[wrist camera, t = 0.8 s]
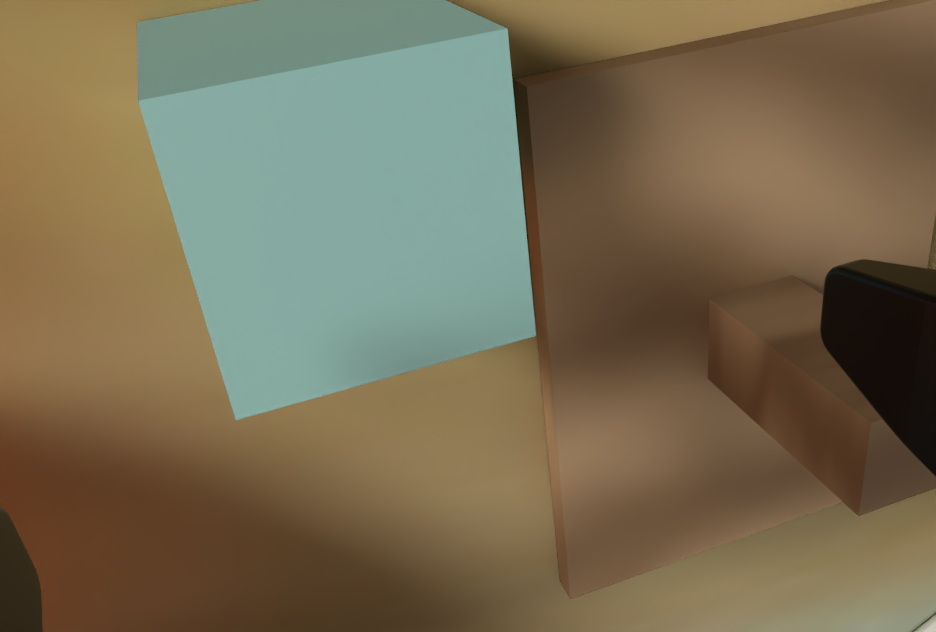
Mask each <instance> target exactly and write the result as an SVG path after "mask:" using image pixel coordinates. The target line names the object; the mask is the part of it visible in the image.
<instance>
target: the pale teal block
mask: <svg viewBox="0 0 936 632" xmlns="http://www.w3.org/2000/svg"><path fill="white" fill-rule="evenodd" d="M137 54H138V103H139V106H140V109H141V112H142V116H143V119H144V122H145V125H146V129H147V132H148V135H149V138H150V142H151V145H152V148H153V151H154V155H155V158H156V161H157V165H158V168H159V171H160V174H161V178H162V181H163V184H164V187H165V191H166V194H167V197H168V200H169V204H170V207H171V210H172V213H173V217H174V220H175V223H176V227H177V230H178V233H179V236H180V240H181V243H182V246H183V249H184V253H185V256H186V259H187V262H188V266H189V269H190V272H191V275H192V279H193V282H194V285H195V289H196V292H197V295H198V298H199V302H200V305H201V308H202V311H203V315H204V318H205V321H206V324H207V328H208V331H209V334H210V337H211V341H212V344H213V347H214V351H215V354H216V357H217V360H218V364H219V367H220V370H221V373H222V377H223V380H224V383H225V386H226V390H227V393H228V396H229V399H230V403H231V406H232V409H233V412H234V416H235V419H236V420H238V419H242V418H246V417H249V416H253V415H256V414H260V413H263V412H267V411H270V410H274V409H278V408H281V407H285V406H288V405H292V404H295V403H299V402H302V401H306V400H310V399H313V398H317V397H320V396H324V395H327V394H331V393H334V392H338V391H342V390H345V389H349V388H352V387H356V386H359V385H363V384H366V383H370V382H374V381H377V380H381V379H384V378H388V377H391V376H395V375H398V374H402V373H406V372H409V371H413V370H416V369H420V368H423V367H427V366H431V365H434V364H438V363H441V362H445V361H448V360H452V359H455V358H459V357H463V356H466V355H470V354H473V353H477V352H480V351H484V350H487V349H491V348H495V347H498V346H502V345H505V344H509V343H512V342H516V341H519V340H523V339H527V338H530V337H534V336H536V330H535V319H534V308H533V297H532V286H531V276H530V265H529V254H528V243H527V233H526V222H525V211H524V200H523V190H522V179H521V168H520V157H519V146H518V136H517V125H516V114H515V103H514V93H513V82H512V71H511V60H510V50H509V39H508V29H507V28H505V27H503V26H501V25H499V24H496V23H494V22H492V21H490V20H488V19H486V18H483V17H481V16H479V15H477V14H475V13H472V12H470V11H468V10H466V9H464V8H461V7H459V6H457V5H455V4H453V3H450V2H448V1H446V0H260V1H255V2H249V3H243V4H237V5H232V6H226V7H220V8H215V9H209V10H203V11H198V12H192V13H186V14H181V15H175V16H169V17H164V18H158V19H152V20H147V21H141V22H137Z"/></svg>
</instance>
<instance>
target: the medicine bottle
mask: <svg viewBox="0 0 936 632" xmlns="http://www.w3.org/2000/svg"><path fill="white" fill-rule="evenodd" d="M914 632H936V614H935V615H934V616H932V617H931V618H930V619H929V620H927V621H926V622H925V623H924V624H922V625H921V626H920V627H919V628H917V629H916V630H915V631H914Z"/></svg>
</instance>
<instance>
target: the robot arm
mask: <svg viewBox="0 0 936 632" xmlns="http://www.w3.org/2000/svg"><path fill="white" fill-rule="evenodd" d="M820 334H821V339H822V342H823V344H824V346H825V348H826V350H827V351H828V353H829V354H830V355H831V356H832V357H833V359H834V360H835V361H836V362H837V364H838V365H839V366H840V367H841V369H842V370H843V371H844V372H845V373H846V375H847V376H848V377H849V378H850V380H851V381H852V382H853V383H854V385H855V386H856V387H857V388H858V389H859V391H860V392H861V393H862V394H863V396H864V397H865V398H866V399H867V401H868V402H869V403H870V404H871V406H872V407H873V408H874V409H875V410H876V412H877V413H878V414H879V415H880V417H881V418H882V419H883V420H884V422H885V423H886V424H887V425H888V426H889V428H890V429H891V430H892V431H893V432H894V434H895V435H896V436H897V437H898V438H899V439H900V441H901V442H902V443H903V444H904V445H905V446H906V447H907V448H908V449H909V450H910V451H911V453H912V454H913V455H914V456H915V457H916V458H917V459H918V460H919V461H920V462H921V463H922V464H923V465H924V466H925V467H926V468H927V469H928V470H929V471H930V472H931V473H932V474H933V475H934V476H935V477H936V270H935V269H928V268H921V267H915V266H908V265H901V264H895V263H888V262H882V261H875V260H868V259H861V260H856V261H852V262H849V263H845V264H842V265H838V266H835V267H833V268H832V269H831V270H829V272H828V273H827V275H826V277H825V281H824V291H823V301H822V312H821V323H820ZM0 632H43V629H42V603H41V588H40V582H39V578H38V575H37V572H36V569H35V567H34V564H33V562H32V560H31V558H30V556H29V554H28V552H27V550H26V548H25V546H24V544H23V542H22V540H21V538H20V536H19V534H18V532H17V530H16V528H15V526H14V524H13V522H12V520H11V518H10V516H9V515H8V514H7V512H6V511H5V510H4V509H2V508H0Z"/></svg>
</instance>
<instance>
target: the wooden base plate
mask: <svg viewBox="0 0 936 632" xmlns="http://www.w3.org/2000/svg"><path fill="white" fill-rule="evenodd" d="M514 89H515V100H516V110H517V121H518V132H519V143H520V154H521V165H522V176H523V186H524V197H525V208H526V219H527V230H528V241H529V252H530V262H531V273H532V284H533V295H534V306H535V317H536V328H537V339H538V349H539V360H540V371H541V382H542V393H543V404H544V415H545V425H546V436H547V447H548V458H549V469H550V480H551V491H552V501H553V512H554V523H555V534H556V545H557V556H558V567H559V577H560V582H561V584H562V586H563V588H564V589H565V591H566V593H567V594H568V596H569V598H570V599H572V598H575V597H578V596H581V595H584V594H586V593H589V592H592V591H595V590H598V589H600V588H603V587H606V586H609V585H612V584H614V583H617V582H620V581H623V580H626V579H629V578H631V577H634V576H637V575H640V574H643V573H645V572H648V571H651V570H654V569H657V568H659V567H662V566H665V565H668V564H671V563H673V562H676V561H679V560H682V559H685V558H687V557H690V556H693V555H696V554H699V553H701V552H704V551H707V550H710V549H713V548H715V547H718V546H721V545H724V544H727V543H729V542H732V541H735V540H738V539H741V538H743V537H746V536H749V535H752V534H755V533H758V532H760V531H763V530H766V529H769V528H772V527H774V526H777V525H780V524H783V523H786V522H788V521H791V520H794V519H797V518H800V517H802V516H805V515H808V514H811V513H814V512H816V511H819V510H822V509H825V508H828V507H830V506H833V505H836V504H839V503H842V502H844V503H845V504H846V505H847V506H848V507H849V508H850V509H851V510H853V511H854V512H855V513H856V514H857V515H858V516H860V515H863V514H865V513H868V512H871V511H874V510H876V509H879V508H882V507H885V506H887V505H890V504H893V503H896V502H899V501H901V500H904V499H907V498H910V497H912V496H915V495H918V494H921V493H923V492H926V491H929V490H932V489H934V488H936V477H935V476H934V475H933V474H932V473H931V472H930V471H929V470H928V469H927V468H926V467H925V466H924V465H923V464H922V463H921V462H920V461H919V460H918V459H917V458H916V457H915V456H914V455H913V454H912V453H911V451H910V450H909V449H908V448H907V447H906V446H905V445H904V444H903V443H902V442H901V441H900V439H899V438H898V437H897V436H896V435H895V434H894V432H893V431H892V430H891V429H890V428H889V426H888V425H887V424H886V423H885V422H884V420H883V419H882V418H881V417H880V415H879V414H878V413H877V412H876V410H875V409H874V408H873V407H872V406H871V404H870V403H869V402H868V401H867V399H866V398H865V397H864V396H863V394H862V393H861V392H860V391H859V389H858V388H857V387H856V386H855V385H854V383H853V382H852V381H851V380H850V378H849V377H848V376H847V375H846V373H845V372H844V371H843V370H842V369H841V367H840V366H839V365H838V364H837V362H836V361H835V360H834V359H833V357H832V356H831V355H830V354H829V353H828V351H827V350H826V348H825V346H824V344H823V342H822V339H821V334H820V323H821V312H822V301H823V291H824V281H825V277H826V275H827V273H828V272H829V270H831V269H832V268H833V267H835V266H838V265H842V264H845V263H849V262H852V261H856V260H861V259H868V260H875V261H882V262H888V263H895V264H901V265H908V266H915V267H921V268H928V261H929V255H930V248H931V242H932V236H933V229H934V223H935V217H936V0H889V1H884V2H880V3H875V4H870V5H865V6H861V7H856V8H851V9H846V10H841V11H837V12H832V13H827V14H822V15H818V16H813V17H808V18H803V19H799V20H794V21H789V22H784V23H779V24H775V25H770V26H765V27H760V28H756V29H751V30H746V31H741V32H736V33H732V34H727V35H722V36H717V37H713V38H708V39H703V40H698V41H694V42H689V43H684V44H679V45H674V46H670V47H665V48H660V49H655V50H651V51H646V52H641V53H636V54H632V55H627V56H622V57H617V58H612V59H608V60H603V61H598V62H593V63H589V64H584V65H579V66H574V67H570V68H565V69H560V70H555V71H550V72H546V73H541V74H536V75H531V76H527V77H522V78H517V79H514Z"/></svg>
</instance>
